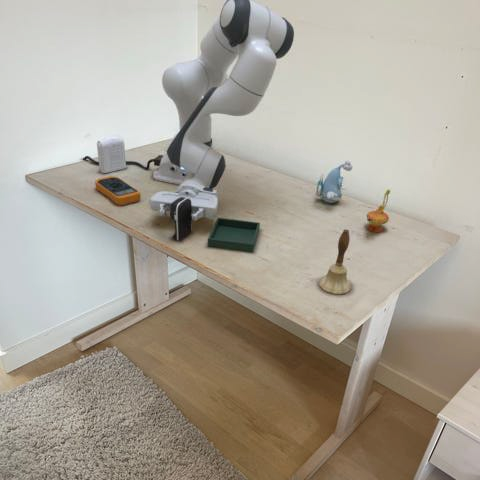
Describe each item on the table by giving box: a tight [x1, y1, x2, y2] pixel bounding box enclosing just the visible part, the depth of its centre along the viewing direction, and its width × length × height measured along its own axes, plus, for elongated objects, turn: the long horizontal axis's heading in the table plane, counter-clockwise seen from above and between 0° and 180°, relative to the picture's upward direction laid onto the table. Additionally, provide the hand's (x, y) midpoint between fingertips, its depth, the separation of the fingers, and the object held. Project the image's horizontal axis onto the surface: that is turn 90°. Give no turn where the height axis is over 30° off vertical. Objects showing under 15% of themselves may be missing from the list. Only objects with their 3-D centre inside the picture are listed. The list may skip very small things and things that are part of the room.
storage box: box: [207, 217, 261, 253], centre depth 147 cm, size 13×14×3 cm
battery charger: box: [169, 197, 193, 242], centre depth 144 cm, size 7×4×11 cm, turn 153°
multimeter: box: [94, 175, 142, 206], centre depth 167 cm, size 9×18×3 cm, turn 40°
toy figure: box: [315, 160, 353, 204], centre depth 168 cm, size 17×10×15 cm, turn 168°
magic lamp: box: [366, 188, 391, 233], centre depth 154 cm, size 7×18×11 cm, turn 149°
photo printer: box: [96, 135, 127, 174], centre depth 181 cm, size 10×4×12 cm, turn 134°
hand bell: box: [318, 229, 352, 295], centre depth 125 cm, size 8×8×16 cm
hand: (178, 215), depth 142 cm, fingers open, 8 cm apart
